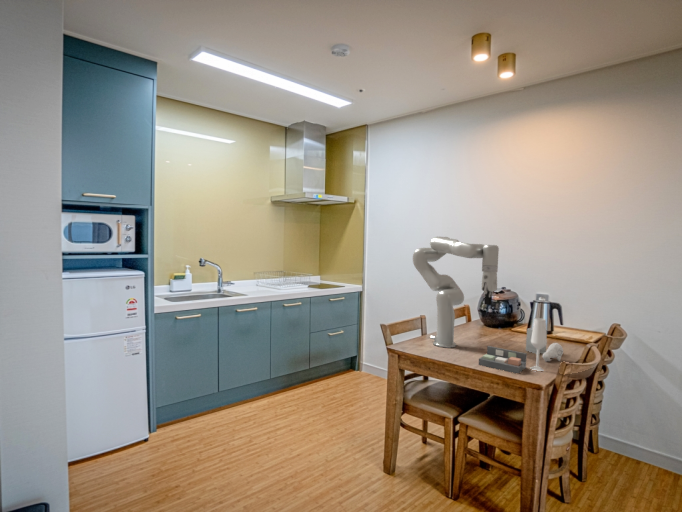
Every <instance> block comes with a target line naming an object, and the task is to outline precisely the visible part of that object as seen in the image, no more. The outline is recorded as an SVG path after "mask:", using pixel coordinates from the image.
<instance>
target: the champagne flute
mask: <svg viewBox="0 0 682 512" xmlns="http://www.w3.org/2000/svg"><path fill="white" fill-rule="evenodd" d="M546 321H547V319H545V318H543V317H535V318H534V319H533V323H532V325H533V326H532V328H533V330H532V337H531V343H532V345H533V346H534V347H535V348H536V349H537V354H536V356H535V357H536V361H535V365H533V366H531V367H529V368H530V369H532V370H537V371H544V370H545V369H544V368H543V367H541V366H539V365H540V354H539V353H540V349H542V348H543V347H545V346H546V347H547V343H548V342H547V341H548V340H547V338H546V330H547V323H546ZM530 369H529V370H530ZM532 370H531V371H532Z"/></svg>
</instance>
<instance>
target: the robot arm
mask: <svg viewBox="0 0 682 512" xmlns="http://www.w3.org/2000/svg"><path fill="white" fill-rule="evenodd" d="M499 251H500V248H499V246H498V245H495V244H483V243H466V242H460V241H459V240H458V239H457V238H450V237H448V236H435V237H433V238H432V239H431V240H430V243H429V247H419V248H417V249H415V250H414V252H413V253H412V263H413V265H414V268H415V270H416V271H418V273H419V275H421V277H422V278H423V280H424V282H425V283H426V284H427V285H428V287H429V289H431V290H432V291H433V292H437V294H436V297H435V298H436V299H435V300H436V308H437V313H436V316H437V317H436V335H433V334H430V336H429V337H430V340H433V345H434V346H436V347H439V348H448V349H449V348H451V349H452V348H456V347H457V343H456V342H454V339H455V319H456V318H455V310H454V306H458V305H462V303H463V302H464V301H465V296H464V295H465V294H464V292H463V290H462V289H461V288H460V287H459V285H458V284H457V283H456V281H455V279H453V277H451V276H450V275H449V274H440V273H439V272H437V270H436V268H435V267H434V266H433V265H432V264H430V263H431V262H432V263H434V262H437V261H439V260H440V259H441V258H442V257H444V256H445V255H447V254H449V255H454V256H457V257H460V258H465V259H466V258H467V259H481V260H482V263H481V264H482V267H481V272H482V279H481V290H482V291H483V294H484V303H483V304H484V305H487V306H488V305H489V306H492V304H493V303H492V302H493V293H494V292H496V291H497V290H498V270H499V269H498V268H499Z"/></svg>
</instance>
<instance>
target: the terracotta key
mask: <svg viewBox="0 0 682 512" xmlns="http://www.w3.org/2000/svg"><path fill="white" fill-rule="evenodd" d="M508 364H510V365H515V366H519V365H521V359H519V358H515V357H510V358H509V359H508Z"/></svg>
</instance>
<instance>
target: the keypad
mask: <svg viewBox="0 0 682 512" xmlns="http://www.w3.org/2000/svg"><path fill="white" fill-rule="evenodd" d="M486 354H488V355H492V356H495V358H497V357H502V358H507V359H509V358H510V357H515V358H519V359H521V365H519V366H515V365H510V364H508V362H507V363H501V362H497V361H495V359H494V360H488V359H483V358H482V356H481V357H479V358H478V366H481V365H482V367H485V368H490V367H491V369H494V368H496V370H499V369H500V371H503V370H504V371H503V372H507V371H508V373H512V372H513V373H512V374H516V373H519V374H520V373H522V370H523V369H524V370H525V369H527V355H528V354H527V352H526V353H525V352H521V351H516V350H512V349H506V348H502V347H501V348H500V347H496V346H491V345H487V349H486ZM524 370H523V371H524Z"/></svg>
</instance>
